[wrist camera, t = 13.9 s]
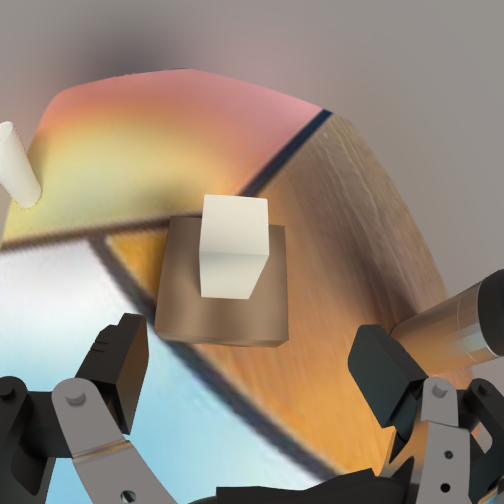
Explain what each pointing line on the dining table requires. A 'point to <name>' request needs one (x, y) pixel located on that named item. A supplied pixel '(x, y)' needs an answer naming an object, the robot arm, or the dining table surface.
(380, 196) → the dining table surface
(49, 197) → the dining table surface
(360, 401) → the dining table surface
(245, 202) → the offwhite block
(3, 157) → the drinking glass
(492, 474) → the robot arm
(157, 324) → the walnut box
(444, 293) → the dining table surface
